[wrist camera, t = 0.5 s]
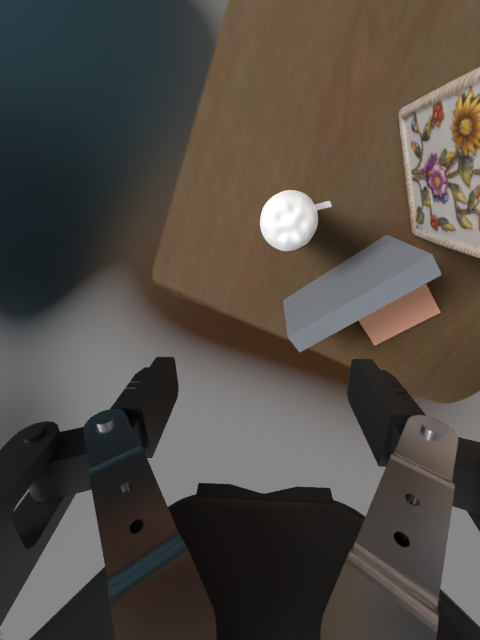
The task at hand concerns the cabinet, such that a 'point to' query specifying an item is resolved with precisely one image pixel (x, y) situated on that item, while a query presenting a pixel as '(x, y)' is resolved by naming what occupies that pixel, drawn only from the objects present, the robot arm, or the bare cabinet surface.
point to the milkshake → (290, 219)
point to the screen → (356, 289)
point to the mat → (400, 315)
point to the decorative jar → (444, 164)
